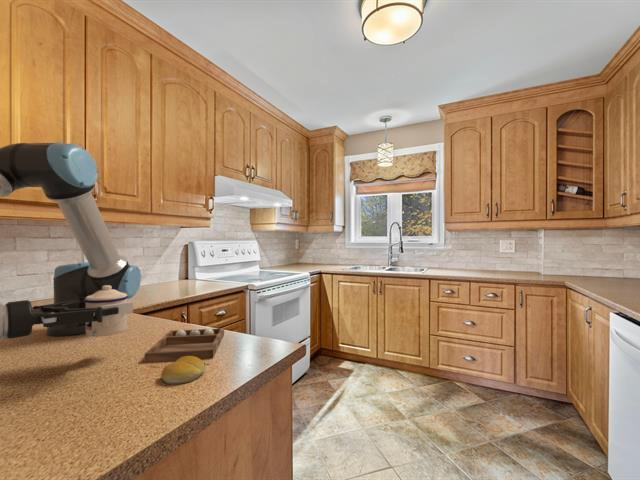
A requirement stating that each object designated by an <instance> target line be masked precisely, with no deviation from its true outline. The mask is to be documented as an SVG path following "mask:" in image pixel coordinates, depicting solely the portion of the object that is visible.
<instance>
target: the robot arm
mask: <svg viewBox="0 0 640 480" xmlns="http://www.w3.org/2000/svg"><path fill="white" fill-rule="evenodd" d="M98 177H99V174H98V167H97V163H96V160H95V159H94V157H93V156H92V155H91V154H90V152H89V151H87V150H86V149H85V148H84V147H81V146H80V145H78V144H75V143H65V142H44V143H43V142H32V143H31V142H29V143H27V142H18V143H12V144H11V143H10V144H7V145H5V146H3V147H0V198H5V197H8V196H10V195H11V194H12V193H14V192H15V191H17V190H19V189H21V190H22V189H24V188H26V189H27V188H40V189H42V191H43V193H44V195H45V197H46V198H47V199H48V200H50V201H53V202H55V203H57V204H58V207H59V209H60V211H61V213H62V214H63V218H65V220H66V223H67V224H68V226H69V228H70V230H71V232H72V234H73V235H74V237H75V238H74V239H75V240H76V241H77V243H78V245H79V247H80V249H81V251H82V253H83V255H84V257H85V259H86V261H85V262H77V263H69V264H68V263H67V264H62V265H61V264H60V265H58V266H56V268H54V273H53V278H52V280H53V303H47V304H43V305H34V306H32V303H31V301H30V300H28V299H24V300H16V301H8V302H7V303H5V304H3V303H1V302H0V341H2V340H3V339H4V337H6V338H7V339H9V340H11V339H17V338H21V337H22V338H23V337H28V336H30V335H31V334H32V331H33V327H34V325H43V326H42V327H44V328H46V335H47V336H51V337H52V336H53V337H62V336H74V335H80V334H81V335H82V334H86V322H93V321H98V323H99V322H102V318H107V317H113V316H119V315H125V314H127V315H130V314H134V301H127V303H119V304H112V305H105V306H101V307H98V308H86V302H85V301H84V300H85V298H86V297H87V296H90V295H92V294H94V293H96V292H97V291H100V290H102V287H103V286H106V285H110V286H111V287H112V288H111V289H114V290H117V291H119V292H122V293H126V294H127V296H128V298H127V300H130V299H132V298H133V297H134V296H135V295H136V294H137V293H138V291H139V289H140V285H141V281H142V272H141V269H140V268H139V267H138V266H136V265H133V264H131V265H130V264H129V261H128V260H127V258H126V257H125V256H124V255H121V254H119V252H118V250H117V247H116V245H115V242H114V240H113V238H112V236H111V234H110V231H109V230H108V227H107V224H106V222H105V220H104V218H103V216H102V213H101V212H100V210H99V207H98V205H97V203H96V200H95V198H94V195H93V194H92V193H93V191H94V190H95V189H96V188H95V187H96V186H95V184H96V182H97V180H98ZM94 313H95V316H94Z"/></svg>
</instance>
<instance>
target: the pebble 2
mask: <svg viewBox="0 0 640 480" xmlns="http://www.w3.org/2000/svg"><path fill="white" fill-rule="evenodd" d="M191 330H192V331H191V332H190V335H200V331H199V330H197V328H193V329H191Z"/></svg>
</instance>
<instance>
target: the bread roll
mask: <svg viewBox="0 0 640 480" xmlns="http://www.w3.org/2000/svg"><path fill="white" fill-rule="evenodd" d="M205 371H206V364H205V363H204V361H203V359H199V358H197V357H194V356H184V357H181V358H179V359H178V360H175V361H174V362H172V363H169V364H167V365H165V367H164V368H163V369H162V371H161V375H160V377H161V379H162V380H163V381H164V382H165V383H166V384H171V385H179V384H184V383H185V384H186V383H189V382H192V381H196V379H199V378H200V376H202V375H203V374H204V373H205Z"/></svg>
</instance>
